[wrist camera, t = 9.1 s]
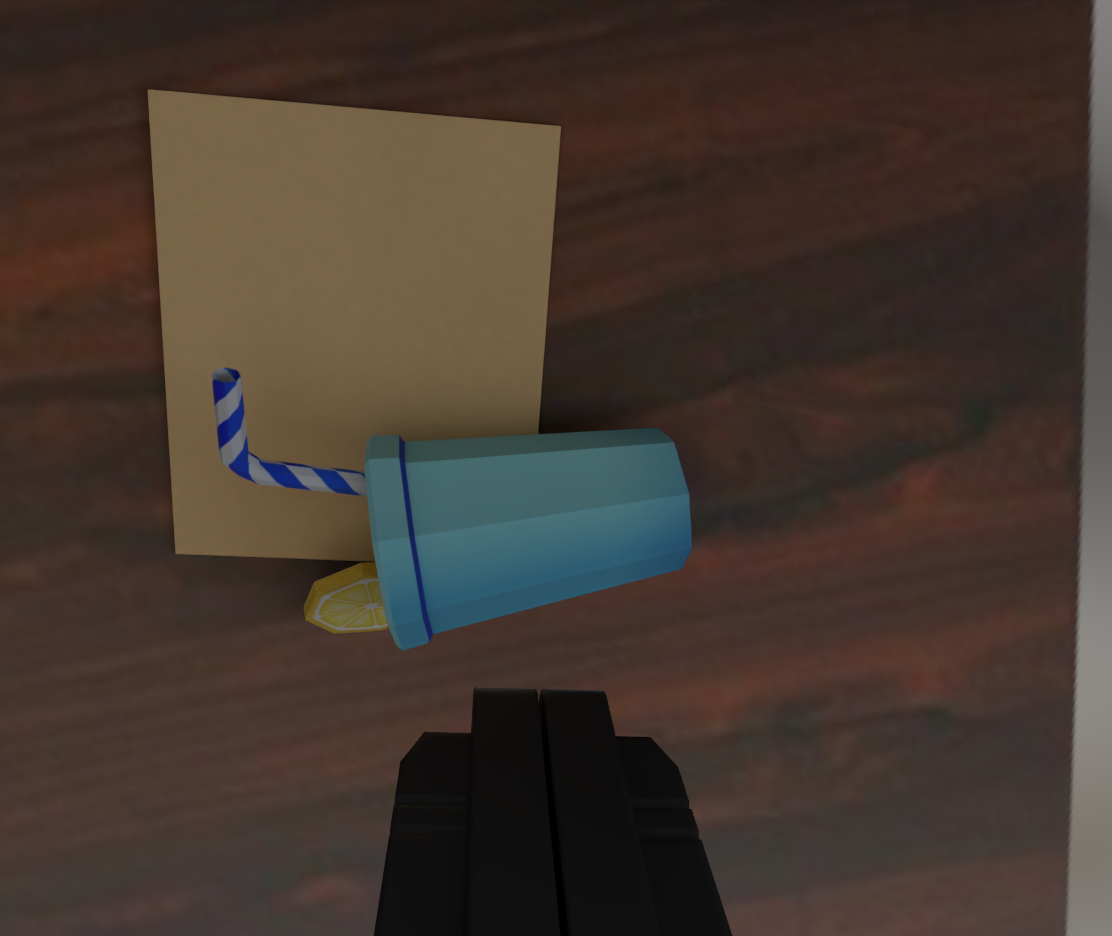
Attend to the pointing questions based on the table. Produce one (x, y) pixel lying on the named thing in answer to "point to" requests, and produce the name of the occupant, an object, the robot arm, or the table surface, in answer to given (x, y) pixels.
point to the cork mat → (340, 298)
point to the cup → (484, 520)
